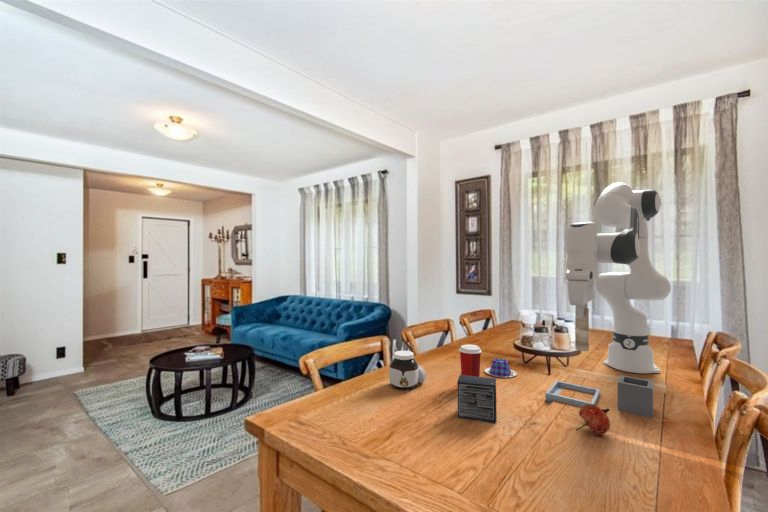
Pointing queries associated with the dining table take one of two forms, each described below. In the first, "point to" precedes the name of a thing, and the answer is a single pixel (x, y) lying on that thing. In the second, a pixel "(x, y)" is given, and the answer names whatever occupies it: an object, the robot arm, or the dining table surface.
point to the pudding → (500, 368)
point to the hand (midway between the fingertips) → (581, 317)
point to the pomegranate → (595, 419)
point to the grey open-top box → (635, 396)
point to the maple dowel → (582, 331)
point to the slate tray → (556, 389)
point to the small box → (477, 398)
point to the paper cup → (470, 360)
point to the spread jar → (405, 371)
